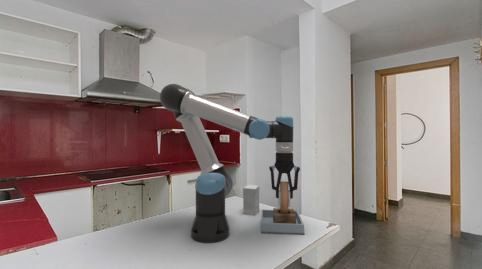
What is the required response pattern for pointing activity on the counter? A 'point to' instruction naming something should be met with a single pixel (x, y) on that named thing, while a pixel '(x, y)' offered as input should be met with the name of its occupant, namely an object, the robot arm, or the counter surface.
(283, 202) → the peg
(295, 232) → the tray
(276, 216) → the block
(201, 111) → the robot arm
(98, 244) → the counter surface
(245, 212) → the small box
